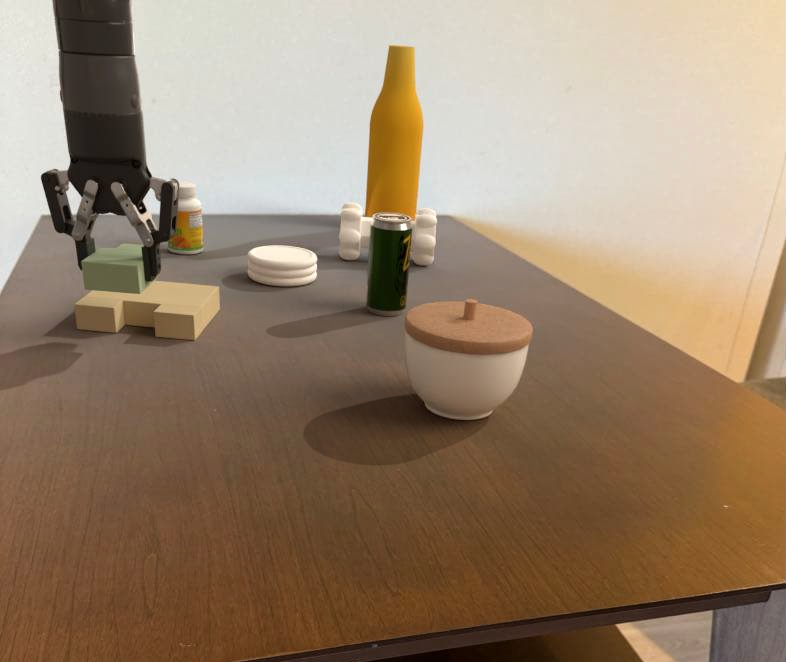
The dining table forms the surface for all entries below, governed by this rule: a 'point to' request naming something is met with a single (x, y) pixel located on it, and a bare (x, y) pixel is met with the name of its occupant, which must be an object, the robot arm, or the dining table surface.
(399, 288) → the beer can
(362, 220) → the dog bone
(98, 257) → the pad
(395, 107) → the beer bottle
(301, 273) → the coaster
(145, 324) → the notch pad
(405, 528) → the dining table surface
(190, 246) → the supplement bottle
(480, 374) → the lidded bowl
